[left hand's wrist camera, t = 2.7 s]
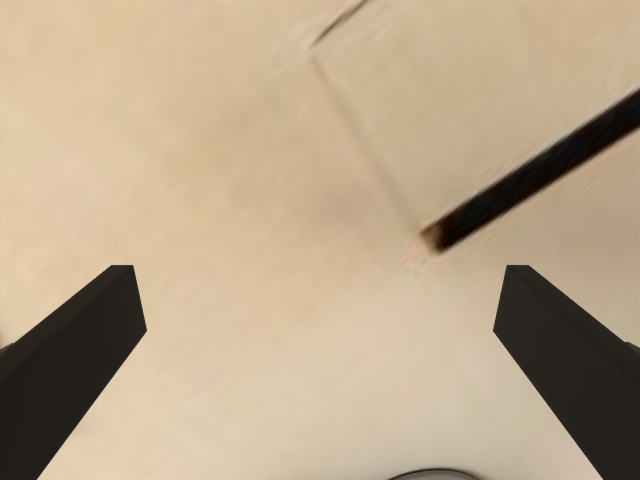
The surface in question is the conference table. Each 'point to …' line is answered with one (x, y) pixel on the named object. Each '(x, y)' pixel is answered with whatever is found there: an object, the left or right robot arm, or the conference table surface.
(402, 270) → the conference table surface
